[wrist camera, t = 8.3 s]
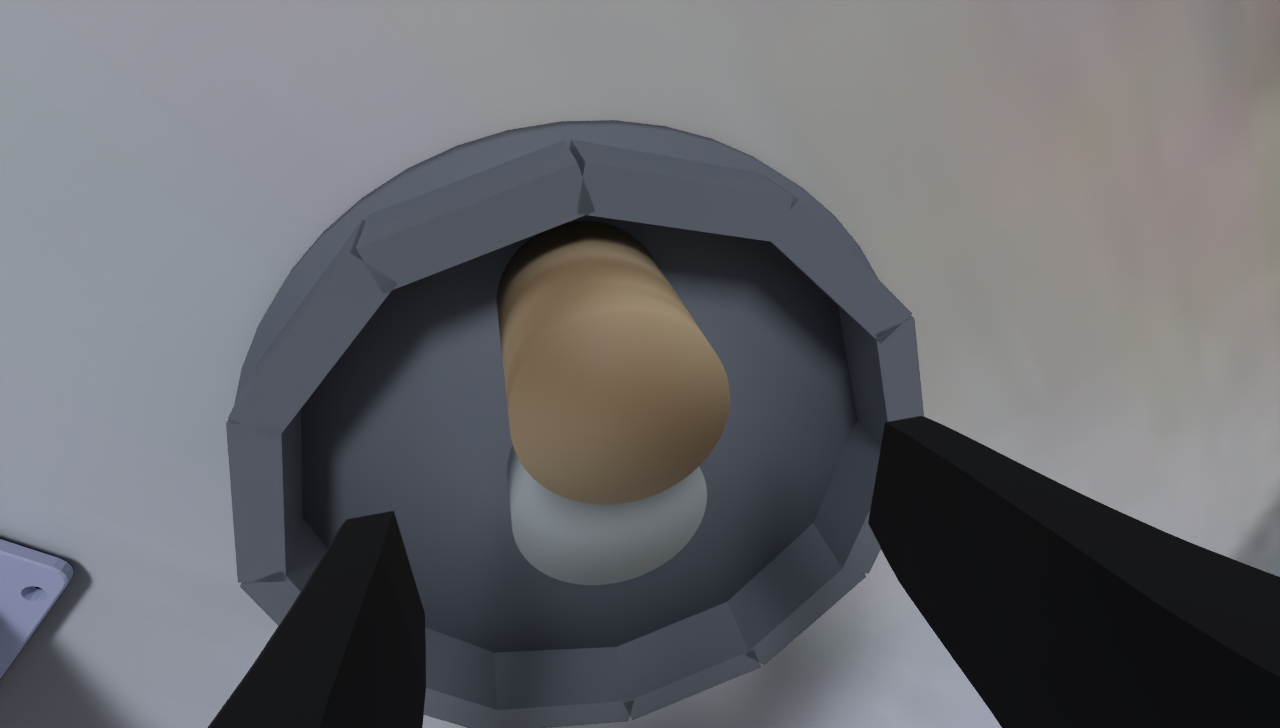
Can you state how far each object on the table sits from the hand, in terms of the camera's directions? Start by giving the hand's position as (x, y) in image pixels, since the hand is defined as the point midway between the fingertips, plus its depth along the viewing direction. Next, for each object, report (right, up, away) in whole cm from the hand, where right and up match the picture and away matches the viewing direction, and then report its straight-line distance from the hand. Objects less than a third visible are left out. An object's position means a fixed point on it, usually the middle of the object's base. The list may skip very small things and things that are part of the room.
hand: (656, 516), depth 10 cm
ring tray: (-2, 0, +10) cm, 10 cm away
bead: (-2, +4, +6) cm, 8 cm away
